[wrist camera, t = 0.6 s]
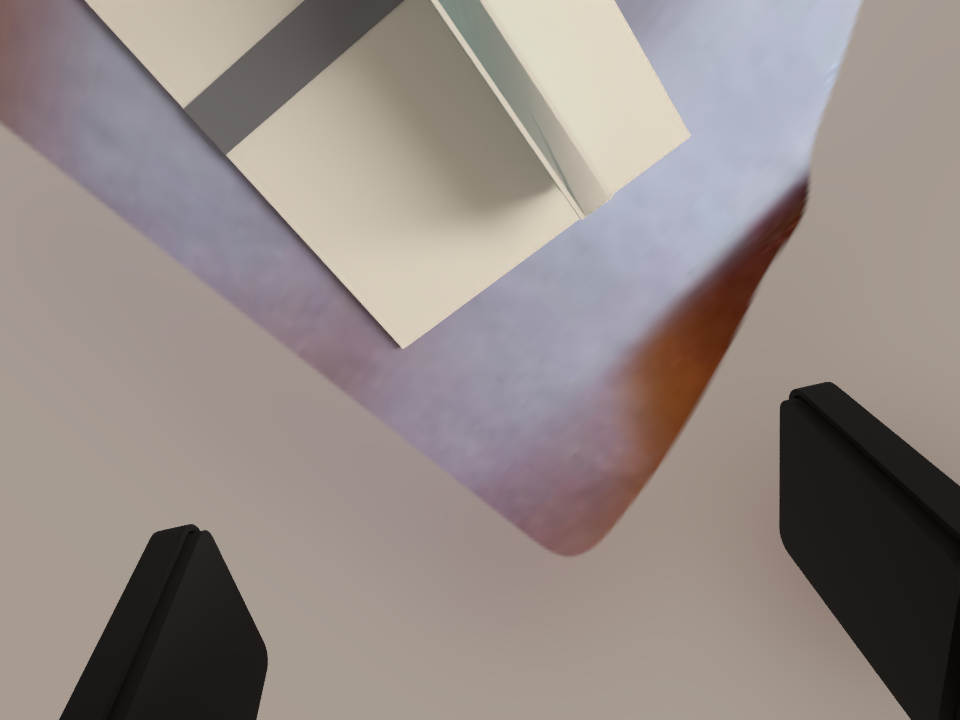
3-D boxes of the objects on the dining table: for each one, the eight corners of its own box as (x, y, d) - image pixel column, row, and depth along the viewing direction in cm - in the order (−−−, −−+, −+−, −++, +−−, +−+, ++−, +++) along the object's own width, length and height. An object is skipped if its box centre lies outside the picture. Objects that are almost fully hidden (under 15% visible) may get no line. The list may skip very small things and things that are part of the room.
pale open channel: (442, -42, 28) (449, -57, 23) (582, 171, 33) (614, 196, 28) (412, -16, 29) (413, -26, 24) (555, 191, 33) (581, 220, 28)
